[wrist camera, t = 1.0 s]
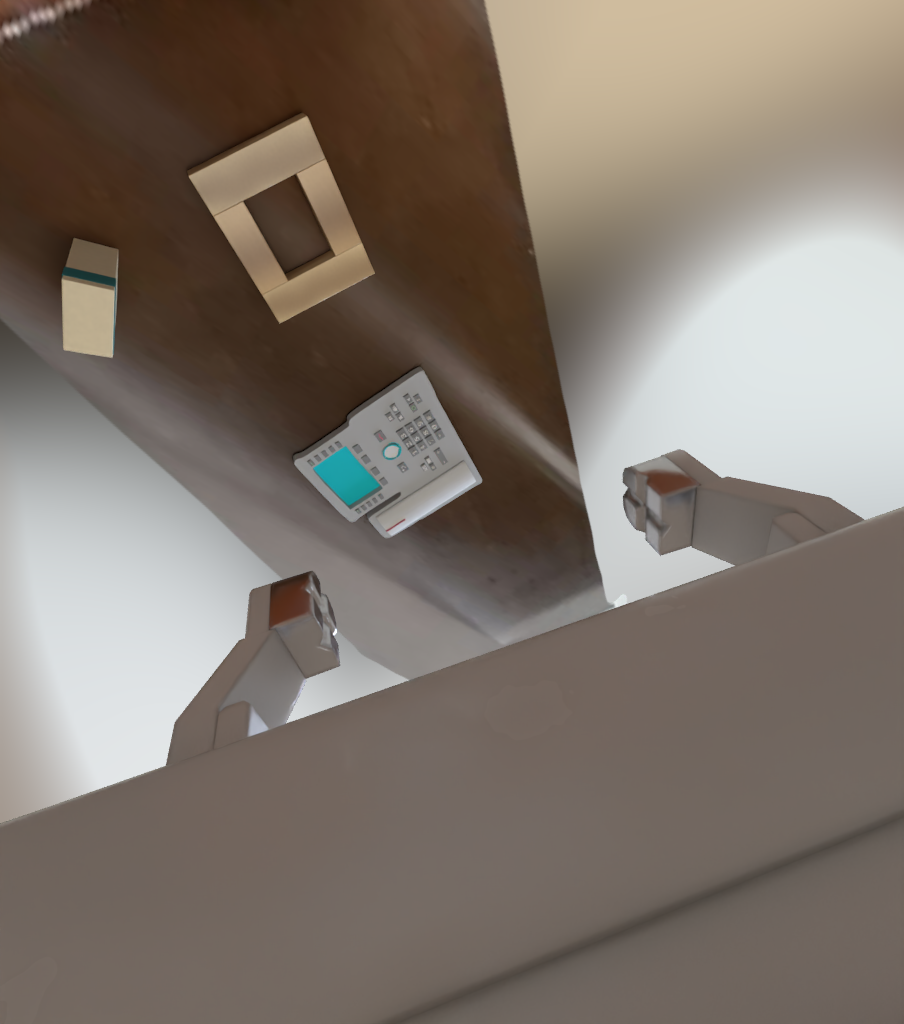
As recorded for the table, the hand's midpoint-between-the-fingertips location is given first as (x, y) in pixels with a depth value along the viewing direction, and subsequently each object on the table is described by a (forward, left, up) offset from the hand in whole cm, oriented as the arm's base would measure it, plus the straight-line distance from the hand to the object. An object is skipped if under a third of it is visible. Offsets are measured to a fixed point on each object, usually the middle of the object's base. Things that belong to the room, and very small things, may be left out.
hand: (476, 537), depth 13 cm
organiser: (+4, +5, -48) cm, 49 cm away
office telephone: (+30, +25, -49) cm, 62 cm away
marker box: (+13, -10, -48) cm, 51 cm away
